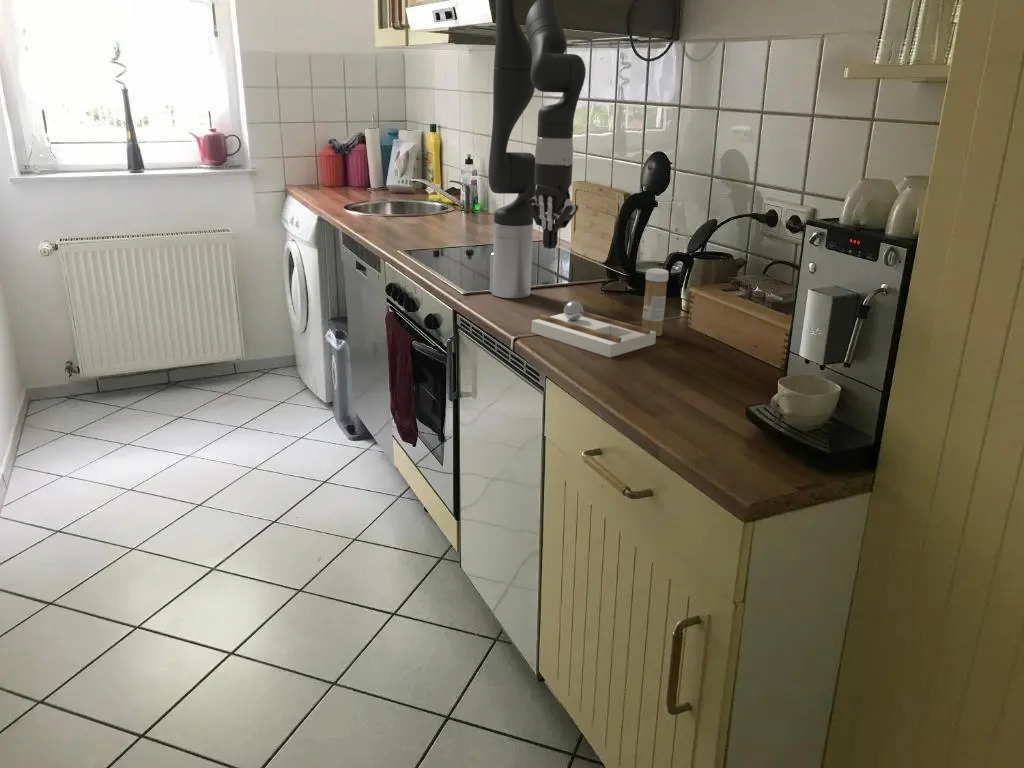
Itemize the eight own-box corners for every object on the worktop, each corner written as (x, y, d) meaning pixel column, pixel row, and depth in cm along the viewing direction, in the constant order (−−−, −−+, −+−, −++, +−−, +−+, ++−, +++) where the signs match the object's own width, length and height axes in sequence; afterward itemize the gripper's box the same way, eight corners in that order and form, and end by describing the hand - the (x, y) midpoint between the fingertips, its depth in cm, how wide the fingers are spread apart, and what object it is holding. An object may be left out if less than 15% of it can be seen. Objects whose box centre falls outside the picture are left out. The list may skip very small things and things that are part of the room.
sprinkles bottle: (638, 330, 170) (643, 267, 166) (659, 330, 171) (665, 267, 166) (643, 337, 166) (649, 272, 161) (665, 337, 166) (671, 272, 162)
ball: (559, 319, 167) (560, 300, 166) (572, 316, 170) (573, 298, 168) (573, 324, 164) (574, 304, 163) (586, 320, 167) (587, 301, 166)
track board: (531, 332, 167) (531, 316, 166) (576, 321, 176) (577, 306, 175) (609, 357, 153) (611, 340, 151) (655, 343, 162) (656, 328, 161)
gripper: (517, 159, 163) (514, 245, 169) (565, 164, 154) (560, 255, 160) (543, 158, 168) (539, 241, 174) (591, 163, 159) (585, 251, 165)
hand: (549, 247), depth 167 cm, fingers closed
